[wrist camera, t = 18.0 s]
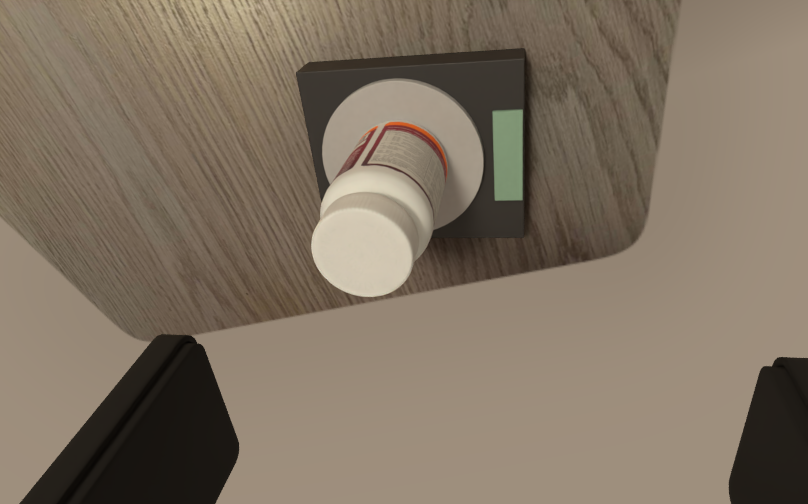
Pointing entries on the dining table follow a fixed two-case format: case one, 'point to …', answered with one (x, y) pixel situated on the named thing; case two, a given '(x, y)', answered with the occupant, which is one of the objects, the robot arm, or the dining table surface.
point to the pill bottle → (380, 209)
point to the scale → (432, 127)
